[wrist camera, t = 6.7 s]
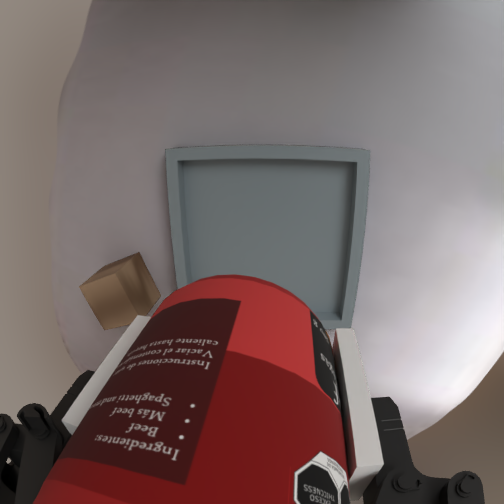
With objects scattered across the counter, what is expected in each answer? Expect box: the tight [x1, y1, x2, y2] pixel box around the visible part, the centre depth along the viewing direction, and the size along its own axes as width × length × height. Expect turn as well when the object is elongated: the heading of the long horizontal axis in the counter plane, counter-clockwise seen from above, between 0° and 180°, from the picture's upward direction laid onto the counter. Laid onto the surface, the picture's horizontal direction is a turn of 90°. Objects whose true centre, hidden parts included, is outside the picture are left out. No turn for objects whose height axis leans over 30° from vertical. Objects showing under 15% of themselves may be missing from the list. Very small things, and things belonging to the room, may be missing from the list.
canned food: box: [33, 274, 350, 504], centre depth 8 cm, size 8×8×11 cm
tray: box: [165, 145, 370, 329], centre depth 26 cm, size 16×16×2 cm
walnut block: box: [79, 252, 161, 330], centre depth 28 cm, size 5×5×5 cm
